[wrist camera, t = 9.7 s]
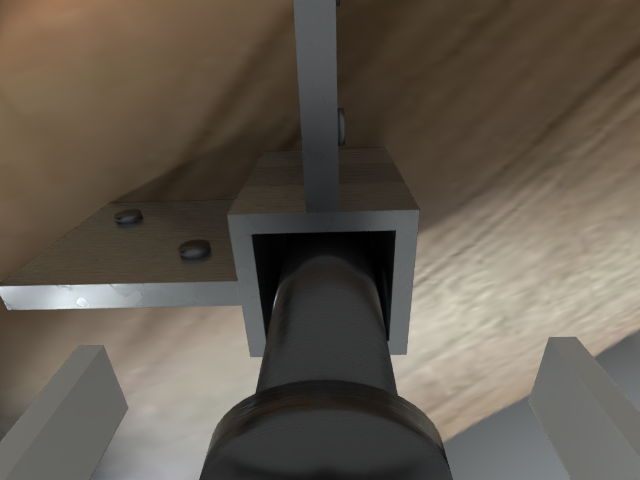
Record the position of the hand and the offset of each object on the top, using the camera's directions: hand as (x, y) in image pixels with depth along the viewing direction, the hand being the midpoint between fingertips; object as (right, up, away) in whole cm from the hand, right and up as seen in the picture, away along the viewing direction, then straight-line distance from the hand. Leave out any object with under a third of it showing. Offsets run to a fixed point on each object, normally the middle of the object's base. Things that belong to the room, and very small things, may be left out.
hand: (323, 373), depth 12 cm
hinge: (-5, +10, +10) cm, 15 cm away
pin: (0, +6, +12) cm, 13 cm away
